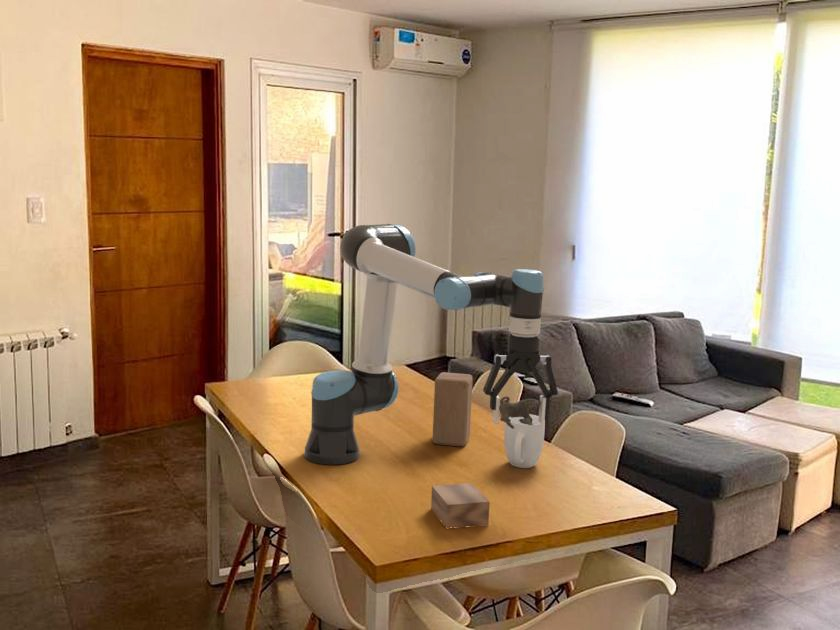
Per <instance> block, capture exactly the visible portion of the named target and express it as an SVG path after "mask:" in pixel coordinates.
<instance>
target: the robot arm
mask: <svg viewBox="0 0 840 630" xmlns="http://www.w3.org/2000/svg"><path fill="white" fill-rule="evenodd" d="M339 248H340V251H339V252H340V255H341V257H342V259H343V262H345V263H346V265H348V266H349V267H351V268H352V269H354V270H357V271H359V272H362V273H363V274H364V275H365V276H366V284H365V285H366V286H365V294H364V303H363V310H362V311H363V313H362V319H361V330H360V338H359V339H360V340H359V348H358V357H357V359H356V360H354V361H353V362H352V363H351V369H350V370H351V371H349V370H345V369H337V370H328V371H325V372H322V373H319V374H317V375H316V376H314V378H313V380H312V387H311V393H310V394H311V426H310V427H311V428H310V432H309V435H308V438H307V441H306V443H305V446H304V458H305V459H306V460H308V461H309V462H311V463H315V464H319V465H329V466H330V465H331V466H333V465H338V466H339V465H344V464H349V463H353V462H356V461H357V460H358V459H359V457H360V447H359V444H358V440H357V436H356V434H355V430H354V424H355V423H354V422H355V420H354V419H355V418H354V417H355V416H360V415H364V414H367V413H368V414H369V413H372V412H379V411H382V410H384V409H387V408H388V407H390V406H391V405H392V404H394V402H395V400H396V399H397V397H398V394H399V381H398V380H397V375H396V374H395V373H394V371H393V366H392V364H391V363H390V362H389V357H390V347H391V340H392V331H393V322H394V314H395V305H396V297H397V291H398V284H399V285H402V286H404V287H406V288H409V289H411V290H413V291H416V292H418V293H421V294H422V295H425V296H427V297H430V298H432V299H434V300H435V302H436V303H437V305H438V306H439V307H440V308H441V309H444V310H445V311H451V310H452V311H458V310H463V309H470V308H475V307H476V308H477V307H484V306H492V305H493V306H502V307H506V308H509V320H508V332H509V333H508V337H507V350H506V351H507V352H506V354H504V355H503V354H501V355H500V354H498V353H495V354H494V355H493V364H492V366H491V369H490V371H489V374H488V377H487V379H486V381H485V384H484V387H483V389H482V391H483V393H484V394H485V395H487V396H489V398H490V399H489V409H490V410H491V411H492V412H493V413H492V422H493V423H494V425H499V421H500V420H499V419H500V410H499V406H500V400H501V398H500V396H499V393H500V392H501V391H502V390H503V388H504V387H505V386H506V384H507V382H508V381H509V379H511V377H512V376H514V374H515V373H517V374H518V373H519V374H520V373H526V374H527V373H528V374H529V373H531V375H532V376H533V379H534V381H536V383H537V386H538V387H539V389H540V391H541V393H542V395H540V396H539V401H540V406H539V408H538V416H539V418H538V421H539V422H540V423H541V424H544V421H545V422H546V419H545V417H546V411H549V409H550V403H551V401H550V400H551V398H552V397H554V396H557V395H559V391H558V387H557V383H556V380H555V377H554V376H555V375H554V371H553V369H552V357H551V356H550V355H548V354H545V355H540V344H541V343H540V341H541V340H540V339H541V337H540V336H539V334H541V325H542V324H541V322H542V307H543V306H542V305H543V304H542V303H543V296H544V290H545V289H544V274H543V272H541V271H540V270H536V269H529V268H517V269H514V270H513V271H512V275H504V274H498V273H492V272H485V271H481V272H479V271H478V272H476V273H475V274H473V275H465V276H464V275H461V274H457V273H454V272H452V271H449V270H447V269H445V268H443V267H440V266H437V265H435V264H432V263H430V262H427V261H425V260H422V259H421V258H417V257H415V255H416V242H415V239H414V237H413V235H412V234H411V232H410V231H409V230H408V229H407V228H406V227H404V226H403V225H398V224H392V223H385V224H384V223H383V224H362V225H361V224H360V225H355V226H353V227H352V228H350V229H349V230H347V231H346V232H345V233H344V235H343V236H342V238H341V241H340V247H339ZM504 361H506V363H507V366H506V368H505V370H504V372H503V373H502V375H500V378H499V379H498V380H497V379H496V378H497V377H498V373H499V372H500V369H501V365H503V364H504ZM540 362H541V364H542V365H543V368H544V372H545V375H546V379H547V383H548V387H549V389H548V387H547V386H546V384H545V382H544V380H543V379H542V377H541V376H540V374H539V371H538V369H537V368H536V366H537V365H538V364H539V363H540ZM496 380H497V382H496ZM495 382H496V383H495ZM494 384H495V385H494Z"/></svg>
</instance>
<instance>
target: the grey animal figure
mask: <svg viewBox="0 0 840 630" xmlns="http://www.w3.org/2000/svg"><path fill="white" fill-rule="evenodd" d="M510 400H511V399H510V397H509V396H503V397H502V398H500V406H499V414H500V418H499V419H500V420H499V421H501V422H504V423H505V422H506V423H507V425H508V426H509V427H511V428H512V429H514V426H513V425H512V424H511V423H510V421H511V420H510V419H509V417H511V418H513V417H524V419H520V420H519V421H520V422H521V423H523V424H528V425H533V424H532V421H533V419H532V418H531V417H530V415H529V414H531V415H536V414H537V411H539V406H540V400H537V398H526V399H520V400H519V401H517V402H510Z"/></svg>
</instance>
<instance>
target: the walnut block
mask: <svg viewBox="0 0 840 630" xmlns="http://www.w3.org/2000/svg"><path fill="white" fill-rule="evenodd" d="M430 499H431V501H430V502H431V503H430V510H431V509H432V510H433V511H434V512H433V511H432V510H431V511H432V512H433V513H434V515H435V514H436V515H437V516H438V517H437V516H436V515H435V516H436V517H437V519H438V518H439V519H440V520H441V521H442V523H443V524H444V525H445V526H446V527H447V528H450V527H452V528H454V527H466V526H479V527H482V526H481V525H488V526H489V519H490V501H489V499H488V498H487V497H486V496H485V495H484V494H483V493H482V492H481V491H480V490H479V488H477V487H476V486H475V485H474V484H473V482H469V483H468V482H467V483H455V484H454V483H453V484H440V485H431V498H430ZM439 519H438V520H439ZM440 520H439V521H440ZM441 521H440V522H441ZM443 524H442V525H443ZM444 525H443V526H444ZM445 526H444V527H445Z"/></svg>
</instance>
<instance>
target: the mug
mask: <svg viewBox="0 0 840 630" xmlns="http://www.w3.org/2000/svg"><path fill="white" fill-rule="evenodd" d="M529 415H530V417H531V418H532V419H533V421H532V424H533V425H528V424H523V423H521V422H520V421H519V420H520V419H524V417H513V418H511V417H509V419H510V420H511V421H510V423H511V424H512V425H513V426H514V429H512V428H511V427H509V426H508V425H507V423H506V422H504V433H503V434H504V435H503V437H504V438H503V439H504V449H505V450H504V451H505V453H506V457H507V460H508V462H509V463H510V465H511V466H514V467H515V468H519V469H531V468H533V467H535V465H536V464H537V463H538V461H539V460H540V458H541V455H542V451H543V447H544V441H545V431H546V430H545V429H546V420H545V421H544V424H541V423H540V422H539V421H538V418H539V415H536V414H535V415H532V414H530V413H529Z"/></svg>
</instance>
